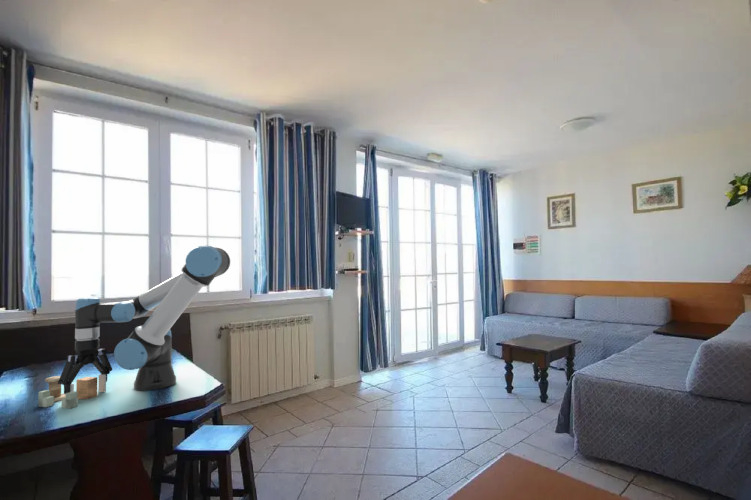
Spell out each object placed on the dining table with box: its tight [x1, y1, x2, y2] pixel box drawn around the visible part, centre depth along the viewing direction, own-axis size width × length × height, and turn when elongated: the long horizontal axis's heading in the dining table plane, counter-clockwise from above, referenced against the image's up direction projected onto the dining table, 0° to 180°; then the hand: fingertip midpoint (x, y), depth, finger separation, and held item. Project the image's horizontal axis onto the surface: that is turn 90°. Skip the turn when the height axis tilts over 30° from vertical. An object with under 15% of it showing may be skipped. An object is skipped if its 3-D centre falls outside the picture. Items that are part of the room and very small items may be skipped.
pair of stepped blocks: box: [37, 389, 78, 409], centre depth 138 cm, size 14×2×5 cm, turn 77°
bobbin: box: [44, 375, 66, 403], centre depth 145 cm, size 7×7×8 cm
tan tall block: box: [75, 376, 98, 400], centre depth 147 cm, size 5×4×7 cm
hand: (86, 396), depth 147 cm, fingers open, 12 cm apart
